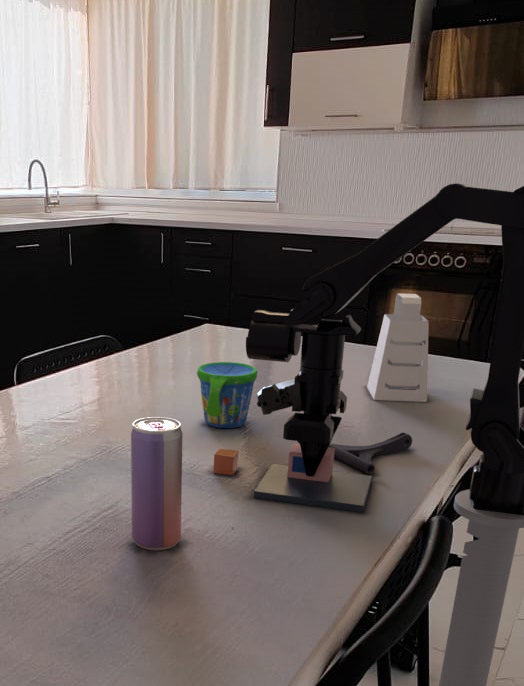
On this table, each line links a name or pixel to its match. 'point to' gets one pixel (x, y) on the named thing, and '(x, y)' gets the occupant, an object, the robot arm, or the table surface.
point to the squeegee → (370, 451)
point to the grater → (401, 353)
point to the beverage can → (156, 482)
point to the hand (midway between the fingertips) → (312, 470)
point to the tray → (315, 489)
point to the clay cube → (225, 461)
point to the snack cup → (226, 392)
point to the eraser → (298, 469)
